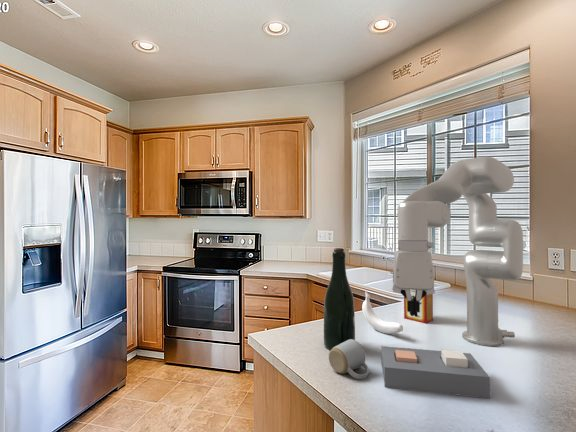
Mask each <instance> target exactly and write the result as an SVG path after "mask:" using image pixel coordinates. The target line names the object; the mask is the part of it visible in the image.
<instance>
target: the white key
mask: <svg viewBox="0 0 576 432" xmlns="http://www.w3.org/2000/svg"><path fill="white" fill-rule="evenodd" d="M440 351H441V358H442V362H443V363H444V365H445V366H451V367H462V368H468V359H467V358H466V357H465V355H464V354H463V353H464V352H463V351H460V350H459V351H458V350H448V349H447V350H446V349H441V350H440Z"/></svg>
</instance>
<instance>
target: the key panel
mask: <svg viewBox="0 0 576 432" xmlns="http://www.w3.org/2000/svg"><path fill="white" fill-rule="evenodd" d="M380 349H381V350H380V353H381V356H380V357H381V358H380V359H381V370H382V376H383V383H384V384H383V385H384V388H390V389H391V388H392V389H399V390H409V391H418V392H429V393H436V394H447V395H454V396H455V395H457V396H465V397H475V398H484V399H491V377H490V376H489V374H488V373H487V371H485V369H484V368H483V367H482V366H481V365H480V363H479V362H478V361H477V360H476V358H475V357H474V356H473V354H471V353H470V352H469V353H468V352H462V353H463V354H464V355H465V357H466V358H467V359H468V368H462V367H451V366H445V365H444V363H443V362H442V358H441V350H434V349H421V348H409V347H407V348H406V347H395V346H385V345H381V348H380ZM395 350H403V351H414V352H415V355H416V357H417V363H407V362H396V360H395Z"/></svg>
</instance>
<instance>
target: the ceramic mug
mask: <svg viewBox="0 0 576 432" xmlns="http://www.w3.org/2000/svg"><path fill="white" fill-rule="evenodd" d="M328 361H329V364H330V367H332V369H333V370H334V371H335V372H336V373H338V374H340V375H341V374H343V375H344V374H347V373H348V374H349V375H350V376H351V377H352V378H353V379H357V380H364V379H366V378H367V377H368V375H369V368H368V365H367V364H366V353H365V350H364V348H363V346H362V345H361V344H360V342H359V341H357V340H356V339H355V340H353V339H350V340H347V341H345V342H343V343H341V344H339V345H337V346H335V347H334V348H332V349H331V350H330V351H329V352H328ZM361 367H362V368H363V369H364V371H365V373H363V374H360V373H356V372H355V371H354V370H357V369H359V368H361Z"/></svg>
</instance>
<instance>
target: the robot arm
mask: <svg viewBox="0 0 576 432" xmlns="http://www.w3.org/2000/svg"><path fill="white" fill-rule="evenodd" d="M514 184H515V177H514V174H513V171H512V170H511V169H510V167H509V166H507V165H506V164H504V163H503V162H502V161H500V160H498V159H497V158H494V157H493V156H492V157H491V156H481V157H479V156H478V157H475V158H474V157H473V158H467V159H466V158H465V159H460V160H457V161H455V162H453V163H452V164H451V165H450V166H449V167H448V168H447V169H446V170H445V171H444V173H443V174H441V176H440V177H439V178H438V179H437V180H436V181H435V180H434V181H433V182H431V183H429V184H427V185H425V186H422V187H421V188H419V189H417V190H414V191H413V192H411V193H410V194H409V195H408V196H407V197H406V198H405V199H404V200H403V201H402V202H400V203H398V205H397V213H396V217H397V250H396V251H395V250H394V251H395V252H394V255H393V262H392V263H393V266H392V267H393V268H392V283H393V285H392V288H391V289H392V292H393V293H396V294H401V295H402V296H403V298H404V297H405V298H406V299H407V311H408V312H410V315H411V316H417V312H420V301H421V299H422V298H423V297H424V296H425V295H429V294H435V293H436V291H435V276H434V273H435V272H434V265H433V259H432V253H431V251H429V249H431V248H432V249H434V246H435V245H434V244H435V243H434V242H431V241H429V239H428V238H429V237H428V236H429V235H428V231H429V230H428V229H430V228H434V229H436V228H438V229H439V228H442V227H444V226H446V225H448V223H449V222H450V220H451V215H452V212H451V210H450V208H449V205H448V204H452V203H454V202H456V201H458V200H459V199H460V198H461V197H463V198H464V199H465V201H466V204H467V206H468V240H469V242H470V243H471V244H473V246H474V245H475V246H478V247H489V248H502V249H503V251H501V250H500V251H499V250H489V249H488V250H486V249H472V250H470V251H467V252H466V253H465V254H464V255H463V258H462V259H463V260H462V264H463V270H464V274H465V282H466V284H465V285H466V330H465V331H462V334H461V335H462V338H463V339H464V340H466V341H468V342H470V343H472V344H476V345H481V346H487V347H499V346H502V345H504V344H505V339H504V338H511V339H512V338H516V337H515V336H516V334H515V332H514V331H509V330H507V329H500V328H499V292H498V288H497V287H496V286H497V285H495V283H494V282H493V281H492V279H494V280H502V281H510V282H512V281H514V282H515V281H518V280H519V279H520V278H521V277H522V274H523V269H524V233H523V232H524V231H523V228H522V226H521V223H519V222H518V221H517V220H514V219H498V216H497V215H498V214H497V212H498V211H497V209H498V208H497V207H498V206H497V204H496V202H495V201H494V199H493V198H492V197H491V196H490V195H489V194H498V193H507V192H508V191H511V189H513V186H514ZM404 289H405V290H404ZM410 289H414V290H416V292H415V297H414V299H413V298H412V297H411V292H410Z"/></svg>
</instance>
